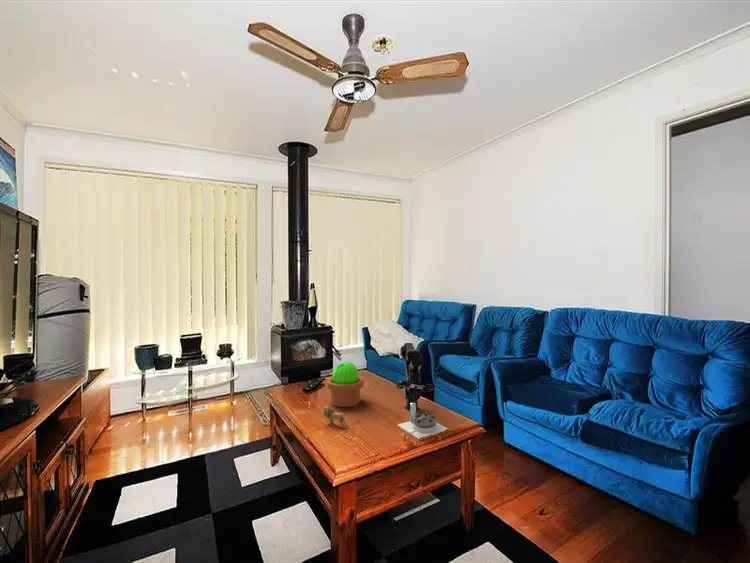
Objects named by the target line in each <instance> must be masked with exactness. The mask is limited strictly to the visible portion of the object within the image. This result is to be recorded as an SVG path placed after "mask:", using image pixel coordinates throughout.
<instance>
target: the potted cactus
mask: <svg viewBox="0 0 750 563" xmlns="http://www.w3.org/2000/svg"><path fill="white" fill-rule="evenodd" d="M358 370H359V369H358V367H357V366H356V365H355V364H353V363H352V362H349V361H341V362H339V363H338V364H337V365H336V366H335V367H334V369H333V371H332V374H331V376H330V377H329V378H327V380H326V388H327V389H328V390H329V391H330V402H331V403H330V404H331V405H332V406H335V407H338V408H339V407H340V408H349V407H350V408H351V407H354V406H357V405H358V404H359V403H360V402H361V389H362V388H364V385H365V383H364V381H365V380H364V377H363V376H361V375H359V371H358Z"/></svg>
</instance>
